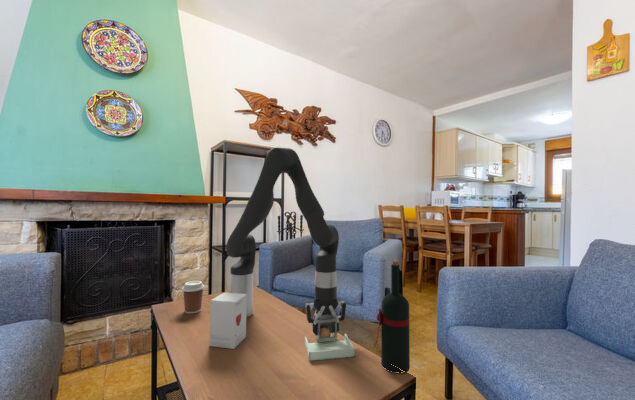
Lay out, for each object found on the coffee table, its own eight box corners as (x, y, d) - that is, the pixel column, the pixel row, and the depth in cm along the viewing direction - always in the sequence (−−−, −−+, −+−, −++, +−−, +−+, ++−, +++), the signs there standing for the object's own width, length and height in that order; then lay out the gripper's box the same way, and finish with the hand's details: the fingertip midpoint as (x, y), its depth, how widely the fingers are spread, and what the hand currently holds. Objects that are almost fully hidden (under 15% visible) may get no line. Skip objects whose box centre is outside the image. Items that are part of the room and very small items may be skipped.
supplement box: (234, 349, 89) (234, 302, 89) (208, 346, 91) (209, 300, 91) (246, 336, 98) (247, 293, 98) (223, 334, 100) (224, 291, 100)
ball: (319, 326, 95) (320, 339, 93) (330, 325, 96) (332, 338, 94) (317, 329, 98) (318, 342, 96) (328, 329, 99) (330, 341, 97)
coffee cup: (199, 305, 128) (200, 278, 128) (207, 311, 121) (208, 283, 122) (178, 310, 122) (178, 282, 122) (185, 316, 115) (185, 287, 116)
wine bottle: (373, 356, 86) (373, 257, 86) (408, 360, 84) (407, 258, 84) (373, 371, 78) (373, 262, 79) (411, 375, 76) (411, 264, 77)
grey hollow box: (315, 333, 98) (315, 313, 98) (332, 332, 99) (332, 312, 99) (318, 342, 92) (318, 320, 92) (336, 340, 93) (336, 319, 93)
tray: (304, 344, 93) (304, 336, 93) (345, 341, 95) (345, 333, 95) (309, 360, 83) (309, 352, 83) (354, 356, 85) (354, 348, 85)
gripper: (343, 280, 101) (343, 327, 100) (303, 282, 98) (303, 330, 98) (349, 286, 93) (349, 337, 93) (306, 288, 91) (306, 340, 90)
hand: (325, 333), depth 95 cm, fingers closed on grey hollow box, 6 cm apart
